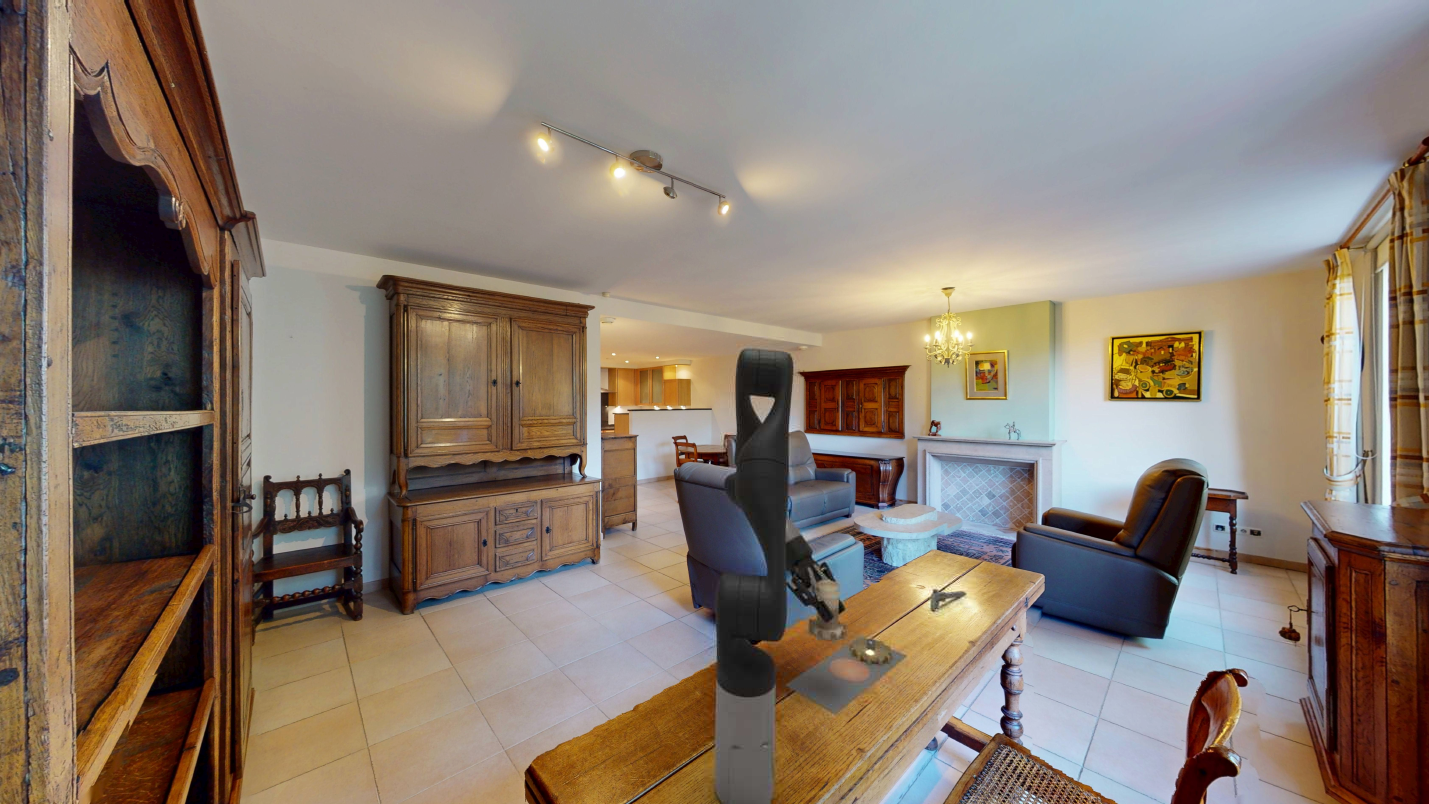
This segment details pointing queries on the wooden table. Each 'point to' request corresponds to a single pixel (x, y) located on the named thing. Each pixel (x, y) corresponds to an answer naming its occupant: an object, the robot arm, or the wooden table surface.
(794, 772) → the wooden table surface
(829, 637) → the beech gear spindle
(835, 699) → the gear board
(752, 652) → the robot arm
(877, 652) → the brass gear
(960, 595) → the caliper
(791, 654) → the wooden table surface
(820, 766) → the wooden table surface
